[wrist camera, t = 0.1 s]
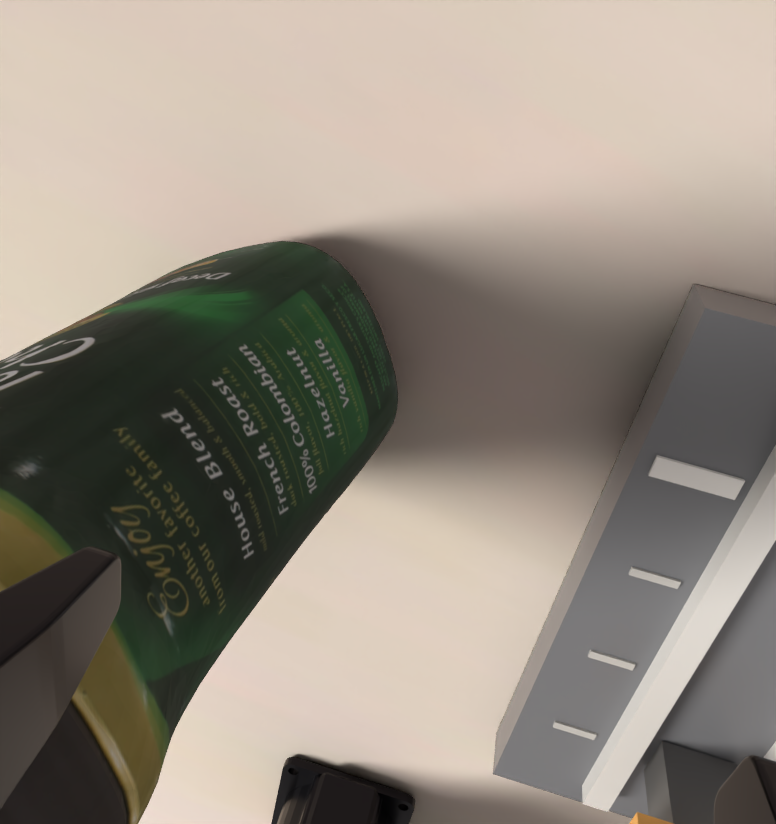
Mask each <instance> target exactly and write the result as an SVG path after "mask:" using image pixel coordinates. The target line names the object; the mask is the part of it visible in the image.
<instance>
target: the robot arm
mask: <svg viewBox="0 0 776 824" xmlns="http://www.w3.org/2000/svg"><path fill="white" fill-rule="evenodd" d="M120 601H121V559H120V557H119V556H118V555H117V554H116V553H113V552H110V551H107V550H103V549H100V548H97V547H93V546H89V547H85V548H83V549H80V550H79V551H77V552H75V553H73V554H71V555H69V556H67V557H65V558H63V559H61V560H59V561H57V562H56V563H54V564H52V565H50V566H48V567H46V568H44V569H42V570H40V571H38V572H36V573H35V574H33V575H31V576H29V577H27V578H25V579H23V580H21V581H19V582H17V583H15V584H14V585H12V586H10V587H8V588H6V589H4V590H2V591H0V809H1V808H2V806H3V805H4V803H5V802H6V800H7V799H8V797H9V796H10V795H11V793H12V792H13V790H14V789H15V787H16V786H17V784H18V783H19V781H20V780H21V778H22V777H23V775H24V774H25V772H26V771H27V769H28V768H29V766H30V765H31V763H32V762H33V761H34V759H35V758H36V756H37V755H38V753H39V752H40V750H41V749H42V747H43V746H44V744H45V743H46V741H47V740H48V738H49V737H50V735H51V733H52V732H53V730H54V729H55V727H56V726H57V724H58V722H59V720H60V719H61V717H62V715H63V713H64V712H65V710H66V708H67V706H68V704H69V702H70V701H71V699H72V697H73V695H74V693H75V691H76V689H77V687H78V686H79V684H80V682H81V680H82V678H83V676H84V674H85V672H86V671H87V669H88V667H89V665H90V663H91V661H92V659H93V657H94V656H95V654H96V652H97V650H98V648H99V646H100V644H101V642H102V641H103V639H104V637H105V635H106V633H107V631H108V629H109V627H110V625H111V624H112V622H113V620H114V618H115V616H116V614H117V611H118V609H119V605H120ZM414 805H415V799H414V798H413V797H412V796H411V795H409V794H407V793H404V792H401V791H398V790H395V789H392V788H388V787H385V786H382V785H379V784H376V783H373V782H370V781H367V780H364V779H361V778H358V777H354V776H351V775H348V774H345V773H342V772H339V771H336V770H333V769H330V768H327V767H324V766H320V765H317V764H314V763H311V762H308V761H305V760H302V759H299V758H295V757H289V758H287V760H286V762H285V764H284V767H283V771H282V776H281V780H280V785H279V790H278V795H277V800H276V804H275V809H274V814H273V819H272V824H409V821H410V819H411V816H412V813H413V811H414ZM714 824H776V761H773V760H770V759H766V758H763V757H760V756H757V755H750V756H747V757H745V758H744V759H743V760H742V762H741V763H740V764H739V765H738V767H737V768H736V769H735V770H734V771H733V773H732V774H731V775H730V776H729V778H728V779H727V780H726V781H725V782H724V784H723V785H722V786H721V787H720V789H719V791H718V793H717V795H716V798H715V803H714Z"/></svg>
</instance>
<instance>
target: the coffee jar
mask: <svg viewBox="0 0 776 824" xmlns="http://www.w3.org/2000/svg"><path fill="white" fill-rule="evenodd" d="M397 403H398V392H397V383H396V376H395V372H394V369H393V365H392V360H391V356H390V354H389V351H388V349H387V346H386V343H385V340H384V337H383V334H382V331H381V329H380V326H379V323H378V321H377V319H376V317H375V315H374V312H373V310H372V308H371V306H370V304H369V302H368V301H367V299H366V297H365V296H364V294H363V292H362V290H361V289H360V287H359V286H358V284H357V283H356V281H355V280H354V278H353V277H352V276H351V275H350V274H349V272H348V271H347V270H346V269H345V268H344V267H343V266H342V265H341V264H340V263H339V262H337V261H336V260H335V259H333V258H332V257H331V256H329V255H328V254H326V253H325V252H323V251H321V250H319V249H317V248H315V247H312V246H309V245H306V244H302V243H297V242H286V241H280V242H271V243H264V244H258V245H253V246H248V247H243V248H239V249H234V250H230V251H226V252H222V253H219V254H216V255H213V256H210V257H207V258H204V259H202V260H199V261H197V262H194V263H191V264H188V265H185V266H183V267H181V268H179V269H177V270H174V271H172V272H170V273H168V274H166V275H164V276H162V277H160V278H158V279H157V280H155V281H153V282H151V283H149V284H147V285H145V286H143V287H142V288H140V289H138V290H136V291H134V292H132V293H130V294H128V295H127V296H125V297H123V298H122V299H120V300H118V301H116V302H114V303H112V304H111V305H109V306H107V307H105V308H103V309H101V310H99V311H97V312H95V313H94V314H92V315H90V316H88V317H86V318H84V319H82V320H80V321H78V322H76V323H74V324H72V325H70V326H68V327H67V328H64V329H62V330H60V331H58V332H56V333H54V334H52V335H50V336H48V337H46V338H44V339H43V340H41V341H39V342H37V343H35V344H33V345H31V346H29V347H27V348H25V349H24V350H22V351H20V352H18V353H16V354H14V355H12V356H10V357H8V358H6V359H4V360H1V361H0V591H2V590H4V589H6V588H8V587H10V586H12V585H14V584H15V583H17V582H19V581H21V580H23V579H25V578H27V577H29V576H31V575H33V574H35V573H36V572H38V571H40V570H42V569H44V568H46V567H48V566H50V565H52V564H54V563H56V562H57V561H59V560H61V559H63V558H65V557H67V556H69V555H71V554H73V553H75V552H77V551H79V550H80V549H83V548H85V547H89V546H93V547H97V548H100V549H103V550H107V551H110V552H113V553H116V554H117V555H118V556H119V557H120V559H121V601H120V605H119V609H118V611H117V614H116V616H115V618H114V620H113V622H112V624H111V625H110V627H109V629H108V631H107V633H106V635H105V637H104V639H103V641H102V642H101V644H100V646H99V648H98V650H97V652H96V654H95V656H94V657H93V659H92V661H91V663H90V665H89V667H88V669H87V671H86V672H85V674H84V676H83V678H82V680H81V682H80V684H79V686H78V687H77V689H76V691H75V693H74V695H73V697H72V699H71V701H70V702H69V704H68V706H67V708H66V710H65V712H64V713H63V715H62V717H61V719H60V720H59V722H58V724H57V726H56V727H55V729H54V730H53V732H52V733H51V735H50V737H49V738H48V740H47V741H46V743H45V744H44V746H43V747H42V749H41V750H40V752H39V753H38V755H37V756H36V758H35V759H34V761H33V762H32V763H31V765H30V766H29V768H28V769H27V771H26V772H25V774H24V775H23V777H22V778H21V780H20V781H19V783H18V784H17V786H16V787H15V789H14V790H13V792H12V793H11V795H10V796H9V797H8V799H7V800H6V802H5V803H4V805H3V806H2V808H1V809H0V824H138V822H139V820H140V819H141V817H142V815H143V813H144V811H145V809H146V807H147V805H148V803H149V801H150V798H151V796H152V794H153V792H154V789H155V787H156V785H157V782H158V779H159V775H160V772H161V768H162V765H163V761H164V758H165V755H166V752H167V749H168V746H169V743H170V740H171V737H172V735H173V732H174V730H175V728H176V726H177V724H178V722H179V720H180V718H181V716H182V714H183V713H184V711H185V709H186V707H187V706H188V704H189V702H190V700H191V699H192V697H193V695H194V693H195V692H196V690H197V688H198V686H199V685H200V683H201V682H202V680H203V679H204V677H205V676H206V674H207V673H208V671H209V670H210V668H211V667H212V665H213V664H214V663H215V661H216V660H217V658H218V657H219V655H220V654H221V652H222V651H223V650H224V648H225V647H226V645H227V644H228V642H229V641H230V640H231V638H232V637H233V635H234V634H235V633H236V631H237V630H238V629H239V627H240V626H241V625H242V623H243V622H244V621H245V619H246V618H247V617H248V615H249V614H250V613H251V611H252V610H253V609H254V607H255V606H256V605H257V603H258V602H259V601H260V599H261V598H262V597H263V595H264V594H265V592H266V591H267V590H268V588H269V587H270V586H271V584H272V583H273V582H274V580H275V579H276V578H277V576H278V575H279V574H280V572H281V571H282V570H283V568H284V567H285V566H286V564H287V563H288V562H289V560H290V559H291V557H292V556H293V555H294V554H295V552H296V551H297V550H298V548H299V547H300V546H301V544H302V543H303V542H304V540H305V539H306V538H307V536H308V535H309V534H310V533H311V531H312V530H313V529H314V527H315V526H316V525H317V524H318V523H319V521H320V520H321V519H322V518H323V516H324V515H325V514H326V513H327V512H328V511H329V509H330V508H331V507H332V505H333V504H334V503H335V502H336V500H337V499H338V498H339V497H340V496H341V494H342V493H343V492H344V491H345V490H346V488H347V487H348V486H349V485H350V483H351V482H352V481H353V479H354V478H355V477H356V476H357V474H358V473H359V472H360V471H361V469H362V468H363V467H364V465H365V464H366V463H367V461H368V460H369V459H370V457H371V456H372V454H373V453H374V452H375V450H376V449H377V448H378V446H379V445H380V443H381V442H382V440H383V439H384V437H385V436H386V434H387V433H388V431H389V430H390V428H391V426H392V424H393V422H394V419H395V415H396V410H397Z"/></svg>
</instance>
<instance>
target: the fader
mask: <svg viewBox="0 0 776 824" xmlns="http://www.w3.org/2000/svg"><path fill="white" fill-rule="evenodd" d="M737 767H738V765H737V764H735V763H732V762H728V761H725V760H722V759H719V758H715V757H712V756H709V755H706V754H702V753H699V752H696V751H693V750H689V749H686V748H683V747H680V746H677V745H673V744H670V743H667V742H664V741H662V742H661V743H660V745H659V746H658V748H657V750H656V751H655V753H654V754H653V756H652V758H651V759H650V761H649V762H648V764H647V765H646V767H645V769H644V776H645V785H646V795H647V804H648V813H649V816H648V815H645V814H642V813H639V812H637V813H636V814H635V816H634V817H633V819H632V820H631V822H630V823H629V824H714V803H715V798H716V795H717V793H718V791H719V789H720V787H721V786H722V785H723V784H724V782H725V781H726V780H727V779H728V778H729V776H730V775H731V774H732V773H733V771H734V770H735V769H736V768H737Z"/></svg>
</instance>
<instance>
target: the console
mask: <svg viewBox="0 0 776 824" xmlns="http://www.w3.org/2000/svg"><path fill="white" fill-rule="evenodd" d="M662 741H664V742H667V743H670V744H673V745H677V746H680V747H683V748H686V749H689V750H693V751H696V752H699V753H702V754H706V755H709V756H712V757H715V758H719V759H722V760H725V761H728V762H732V763H735V764H737V765H739V764H740V763H741V762H742V760H743V759H744V758H745V757H747V756H750V755H757V756H760V757H763V758H766V759H770V760H773V761H776V305H774V304H770V303H766V302H762V301H758V300H754V299H751V298H747V297H743V296H739V295H735V294H731V293H727V292H724V291H720V290H716V289H712V288H708V287H704V286H700V285H697V284H693V286H692V288H691V291H690V293H689V295H688V297H687V300H686V302H685V304H684V307H683V309H682V311H681V313H680V316H679V318H678V320H677V323H676V325H675V327H674V329H673V332H672V334H671V336H670V338H669V341H668V343H667V345H666V348H665V350H664V352H663V354H662V357H661V359H660V361H659V364H658V366H657V368H656V370H655V373H654V375H653V377H652V380H651V382H650V384H649V386H648V389H647V391H646V393H645V395H644V398H643V400H642V402H641V405H640V407H639V409H638V411H637V414H636V416H635V418H634V421H633V423H632V425H631V427H630V430H629V432H628V434H627V437H626V439H625V441H624V443H623V446H622V448H621V450H620V452H619V455H618V457H617V459H616V462H615V464H614V466H613V468H612V471H611V473H610V475H609V478H608V480H607V482H606V484H605V487H604V489H603V491H602V494H601V496H600V498H599V500H598V503H597V505H596V507H595V509H594V512H593V514H592V516H591V519H590V521H589V523H588V525H587V528H586V530H585V532H584V535H583V537H582V539H581V541H580V544H579V546H578V548H577V550H576V553H575V555H574V557H573V560H572V562H571V564H570V566H569V569H568V571H567V573H566V576H565V578H564V580H563V582H562V585H561V587H560V589H559V592H558V594H557V596H556V598H555V601H554V603H553V605H552V607H551V610H550V612H549V614H548V617H547V619H546V621H545V623H544V626H543V628H542V630H541V633H540V635H539V637H538V639H537V642H536V644H535V646H534V649H533V651H532V653H531V655H530V658H529V660H528V662H527V664H526V667H525V669H524V671H523V674H522V676H521V678H520V680H519V683H518V685H517V687H516V690H515V692H514V694H513V696H512V699H511V701H510V703H509V706H508V708H507V710H506V712H505V715H504V717H503V719H502V721H501V724H500V726H499V728H498V731H497V733H496V745H495V756H494V767H493V774H495V775H498V776H501V777H504V778H507V779H510V780H513V781H517V782H520V783H523V784H526V785H529V786H532V787H535V788H539V789H542V790H545V791H548V792H551V793H554V794H557V795H560V796H564V797H567V798H570V799H573V800H576V801H579V802H582V803H583V804H584V805H587V806H590V807H593V808H596V809H600V810H603V811H606V812H608V811H611V812H614V813H617V814H620V815H623V816H626V817H630V818H633V817H634V816H635V814H636V813H637V812H639V813H642V814H645V815H648V816H649V813H648V804H647V795H646V785H645V776H644V769H645V767H646V765H647V764H648V762H649V761H650V759H651V758H652V756H653V754H654V753H655V751H656V750H657V748H658V746H659V745H660V743H661V742H662Z"/></svg>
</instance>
